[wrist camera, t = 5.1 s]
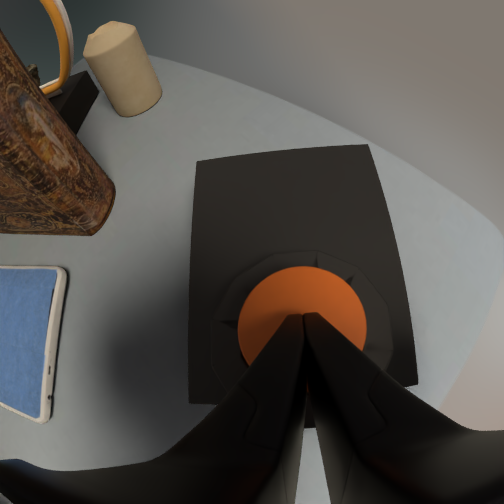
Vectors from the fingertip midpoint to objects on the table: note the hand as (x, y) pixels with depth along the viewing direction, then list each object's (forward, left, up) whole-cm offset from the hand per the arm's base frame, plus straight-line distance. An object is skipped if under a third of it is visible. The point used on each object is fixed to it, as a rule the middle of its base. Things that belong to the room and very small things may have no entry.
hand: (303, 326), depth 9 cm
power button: (0, 0, -3) cm, 3 cm away
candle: (+28, -8, -10) cm, 31 cm away
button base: (+3, -3, -10) cm, 11 cm away
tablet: (+20, +18, -10) cm, 29 cm away
